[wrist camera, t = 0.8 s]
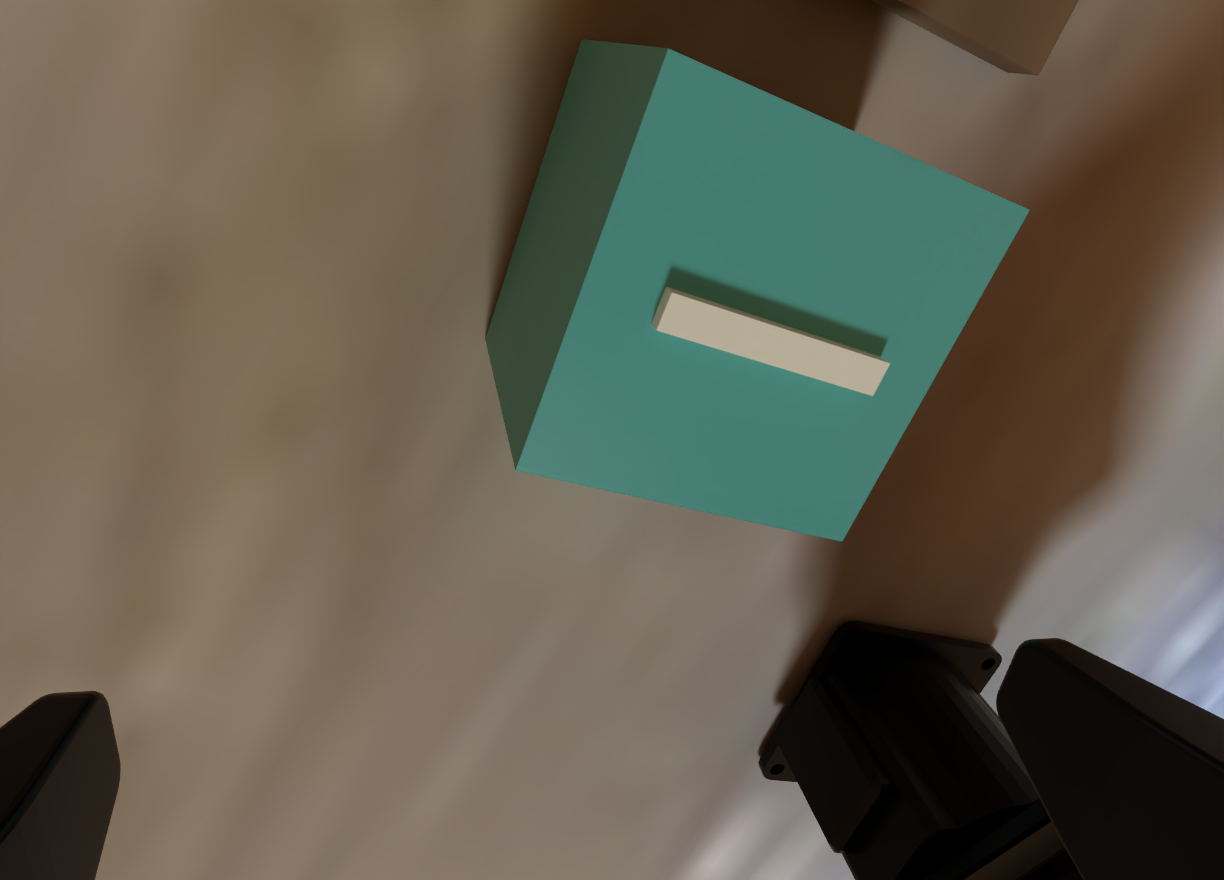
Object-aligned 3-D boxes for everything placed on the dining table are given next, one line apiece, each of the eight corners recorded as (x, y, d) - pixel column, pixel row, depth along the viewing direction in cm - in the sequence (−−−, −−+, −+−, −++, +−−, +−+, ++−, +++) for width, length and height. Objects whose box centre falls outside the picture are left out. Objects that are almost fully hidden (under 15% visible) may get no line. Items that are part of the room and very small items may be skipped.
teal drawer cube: (847, 153, 17) (1043, 214, 12) (730, 405, 20) (850, 551, 14) (581, 39, 15) (675, 48, 10) (485, 338, 18) (517, 479, 12)
